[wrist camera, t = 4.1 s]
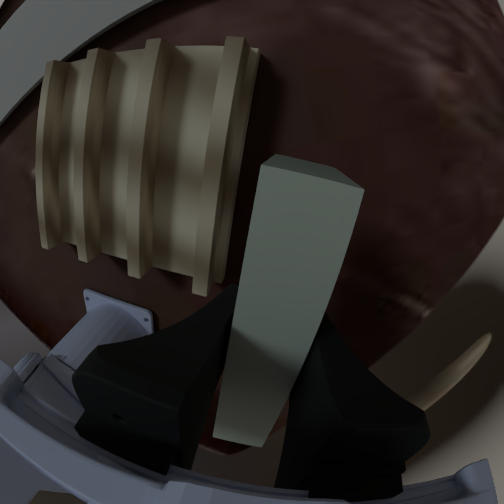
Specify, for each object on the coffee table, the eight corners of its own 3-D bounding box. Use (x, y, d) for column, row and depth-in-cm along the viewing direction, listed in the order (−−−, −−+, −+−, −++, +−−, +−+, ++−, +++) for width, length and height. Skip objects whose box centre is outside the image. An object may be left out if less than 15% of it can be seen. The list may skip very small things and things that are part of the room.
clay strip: (272, 376, 15) (261, 447, 11) (232, 367, 15) (212, 436, 11) (334, 167, 10) (364, 189, 6) (275, 154, 10) (261, 164, 6)
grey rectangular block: (278, -21, 13) (243, -91, 7) (279, -40, 9) (236, -115, 4) (10, 128, 21) (-8, 70, 15) (-16, 142, 17) (-34, 79, 12)
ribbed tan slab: (224, 277, 21) (213, 298, 18) (59, 234, 22) (38, 246, 19) (260, 53, 14) (253, 37, 11) (66, 66, 15) (43, 63, 13)
